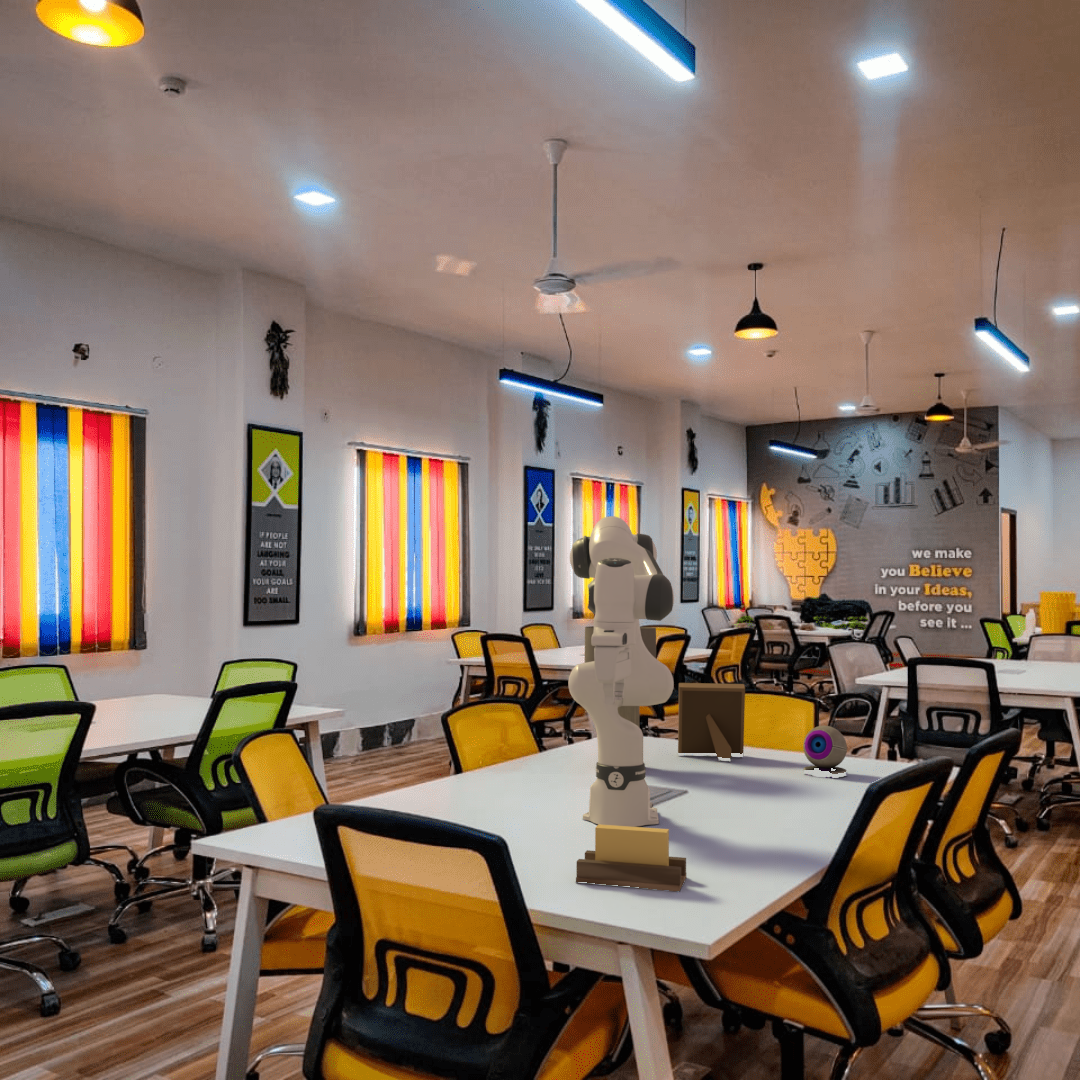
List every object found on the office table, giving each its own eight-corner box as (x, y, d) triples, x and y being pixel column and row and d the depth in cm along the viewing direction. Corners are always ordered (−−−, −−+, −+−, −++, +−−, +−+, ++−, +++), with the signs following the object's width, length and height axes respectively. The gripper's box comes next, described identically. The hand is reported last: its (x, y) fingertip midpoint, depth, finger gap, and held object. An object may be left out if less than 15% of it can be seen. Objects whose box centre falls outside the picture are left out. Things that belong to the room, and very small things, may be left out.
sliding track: (587, 869, 211) (587, 849, 211) (686, 877, 206) (686, 857, 206) (575, 883, 202) (575, 862, 202) (679, 891, 196) (679, 870, 197)
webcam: (796, 774, 322) (796, 725, 322) (815, 769, 331) (814, 722, 332) (836, 780, 313) (835, 729, 314) (854, 774, 323) (853, 725, 324)
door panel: (598, 870, 207) (598, 824, 208) (668, 875, 204) (668, 829, 204) (595, 874, 204) (595, 827, 205) (666, 880, 201) (666, 832, 201)
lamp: (579, 762, 342) (579, 626, 344) (647, 761, 345) (647, 626, 347) (590, 774, 320) (590, 628, 322) (663, 773, 322) (663, 628, 324)
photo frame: (677, 754, 360) (678, 681, 361) (742, 755, 358) (742, 682, 358) (679, 761, 345) (679, 685, 346) (746, 763, 343) (746, 687, 344)
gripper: (609, 633, 230) (609, 696, 229) (589, 637, 210) (589, 706, 210) (638, 634, 228) (638, 697, 228) (620, 638, 209) (620, 707, 208)
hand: (614, 702), depth 218 cm, fingers open, 8 cm apart
